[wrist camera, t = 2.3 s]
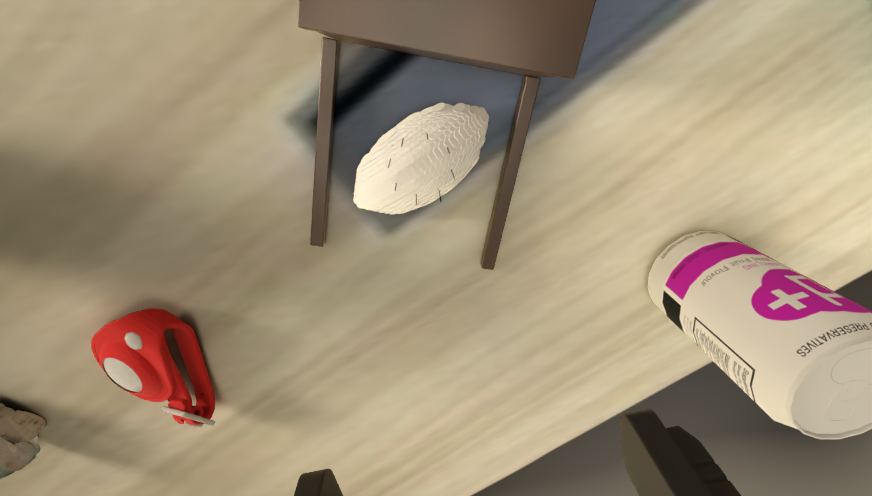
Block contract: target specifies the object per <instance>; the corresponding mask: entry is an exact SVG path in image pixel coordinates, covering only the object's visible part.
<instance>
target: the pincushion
mask: <svg viewBox="0 0 872 496" xmlns="http://www.w3.org/2000/svg"><path fill="white" fill-rule="evenodd" d="M488 121H489V115H488V114H487V112H486V110H485V109H484V108H483V107H480V108H479V107H478V106H474V105H473V106H470V105H469V104H468V105H465V104H464V103H457V104H456V105H455V106H453V105H450V104H445V103H438V104H436V105H434V106H433V107H428V108H425V109H424V110H422V111H421V112H416V113H413V114H411V115H410V116H408V117H407V118H406V119H404V120H402V121H401V122H400V123H398V124H397V125H396V126H395V127H394V128H392V129H391V130H389V131H388V132H387V133H386V134H384V135H382V136H381V137H380V138H379V139H378V141H377V143H376V144H375V145H374V146H373V147H372V148H371V150H370V152H369V153H368V154H366V155H365V156H364V157H363V158H362V160H361V163H360V164H359V166H358V168H357V170H356V171H357V173H356V180H355V182H356V183H355V186H354V188H355V191H354V199H353V202H354V203H355V204H357V207H358V208H363V209H364V208H365V209H366V210H372V211H378V212H379V213H385V214H389V213H390V214H391V215H392V214H397V213H398V214H402V213H406V212H408V211H410V210H414V209H417V208H419V207H423V206H425V205H427V204H429V203H431V202H433V201H435V200H436V199H438V198H439V197H440V201H441V196H443V195H444V194H445V193H447V192H448V191H450V190H451V189H453V188H454V187H455V186H456V185H457V184H458V183H459V182H460V181H461V180H462V179H463V178H464V177H465V176H466V175H467V174H468V173H469V171H470V170H471V169H472V168H473V167H474V166H475V165H476V163H477V161H478V160H479V157H478V156H479V154H480V148H481V147H482V146H483V144H484V142H485V140H486V137H485V135H486V130H487V127H488ZM440 194H441V195H440Z"/></svg>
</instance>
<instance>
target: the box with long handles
mask: <svg viewBox="0 0 872 496" xmlns="http://www.w3.org/2000/svg"><path fill="white" fill-rule="evenodd" d="M595 1H596V0H299V17H298V27H300V28H303V29H306V30H311V31H316V32H319V33H321V34H324V35H327V36H329V37H332V38H334V39H330V38H324V37H323V38H322V50H321V67H320V85H319V103H318V120H317V138H316V155H315V173H314V190H313V208H312V225H311V243H310V244H311V245H314V246H321V247H323V245H324V243H325V239H326V225H327V211H328V197H329V183H330V169H331V155H332V141H333V127H334V114H335V100H336V86H337V72H338V58H339V44H340V42H339V41H338V40H340V41H344V42H349V43H354V44H360V45H365V46H370V47H376V48H381V49H386V50H392V51H397V52H402V53H408V54H413V55H418V56H424V57H429V58H434V59H440V60H445V61H450V62H456V63H461V64H466V65H472V66H477V67H482V68H488V69H493V70H498V71H504V72H509V73H514V74H520V75H531V76H524V78H523V82H522V86H521V91H520V95H519V99H518V104H517V108H516V112H515V117H514V121H513V125H512V130H511V134H510V138H509V143H508V147H507V151H506V155H505V160H504V164H503V168H502V173H501V177H500V181H499V186H498V190H497V194H496V199H495V203H494V207H493V211H492V216H491V220H490V224H489V229H488V233H487V237H486V242H485V246H484V250H483V255H482V259H481V266H482V268H483V269H491V270H493V269H494V265H495V261H496V257H497V253H498V249H499V245H500V241H501V237H502V233H503V229H504V225H505V221H506V217H507V213H508V209H509V205H510V201H511V197H512V193H513V189H514V185H515V180H516V176H517V172H518V168H519V164H520V160H521V156H522V152H523V148H524V144H525V140H526V136H527V132H528V128H529V124H530V120H531V116H532V112H533V108H534V104H535V99H536V95H537V91H538V87H539V83H540V78H538V77H532V76H551V77H561V78H566V79H574V78H575V74H576V70H577V67H578V63H579V59H580V56H581V52H582V49H583V45H584V41H585V38H586V34H587V30H588V27H589V23H590V20H591V16H592V12H593V9H594V5H595ZM335 39H337V40H335Z"/></svg>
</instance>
